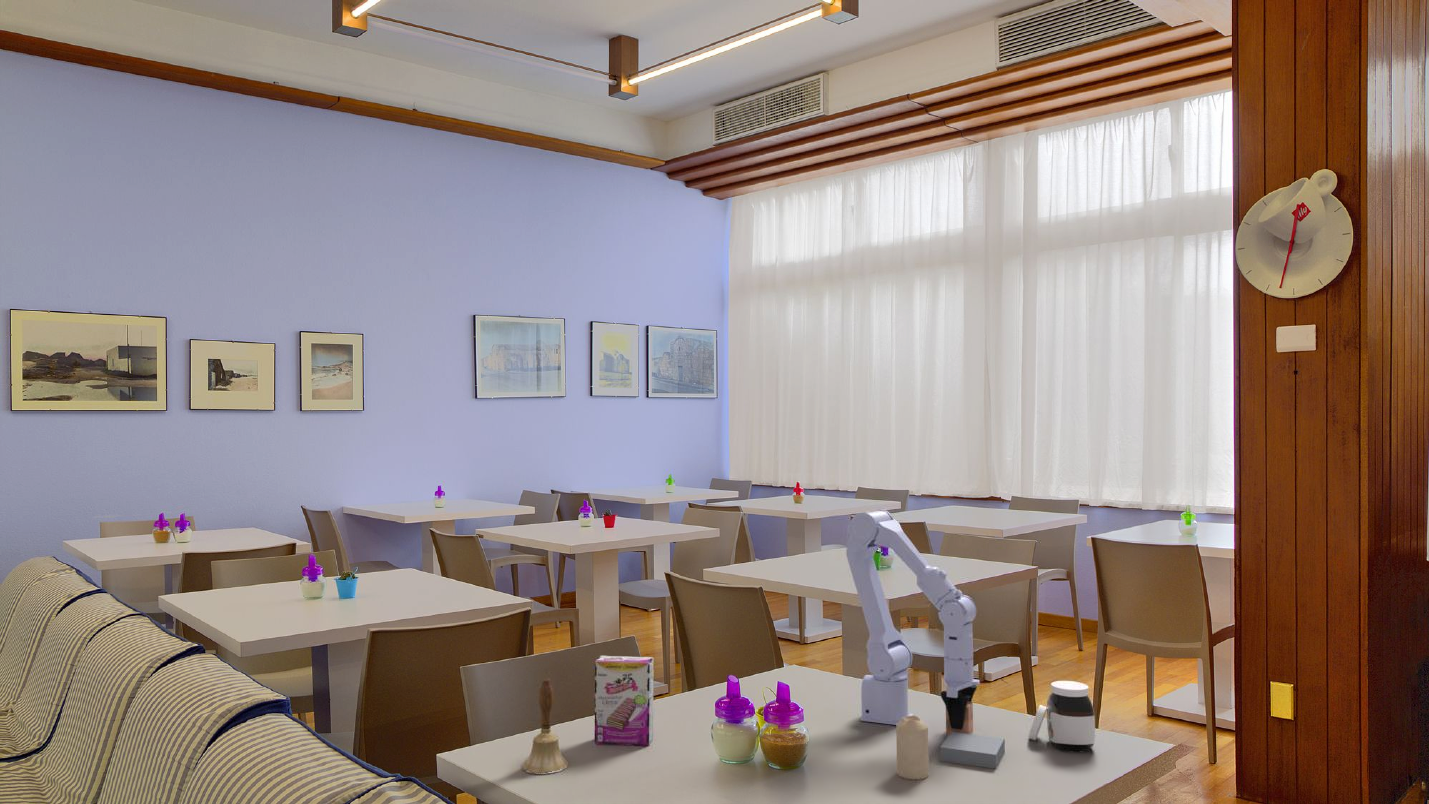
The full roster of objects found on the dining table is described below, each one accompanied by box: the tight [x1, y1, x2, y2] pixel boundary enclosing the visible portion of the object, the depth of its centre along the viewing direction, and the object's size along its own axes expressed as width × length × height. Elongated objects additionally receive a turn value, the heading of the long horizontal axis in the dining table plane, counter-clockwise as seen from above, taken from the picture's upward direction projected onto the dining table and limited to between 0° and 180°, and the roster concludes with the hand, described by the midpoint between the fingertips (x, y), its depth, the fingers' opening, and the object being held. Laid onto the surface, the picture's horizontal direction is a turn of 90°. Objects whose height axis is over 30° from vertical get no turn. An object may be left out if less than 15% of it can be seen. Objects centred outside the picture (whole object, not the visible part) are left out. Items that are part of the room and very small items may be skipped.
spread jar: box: [1028, 680, 1096, 753], centre depth 183 cm, size 12×11×12 cm
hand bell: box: [521, 678, 569, 775], centre depth 173 cm, size 8×8×16 cm
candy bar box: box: [594, 655, 655, 747], centre depth 187 cm, size 11×5×16 cm, turn 84°
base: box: [939, 732, 1006, 769], centre depth 177 cm, size 10×10×2 cm
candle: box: [895, 715, 929, 780], centre depth 168 cm, size 6×6×10 cm
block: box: [945, 701, 974, 736], centre depth 191 cm, size 4×4×6 cm
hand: (959, 724), depth 191 cm, fingers open, 5 cm apart
